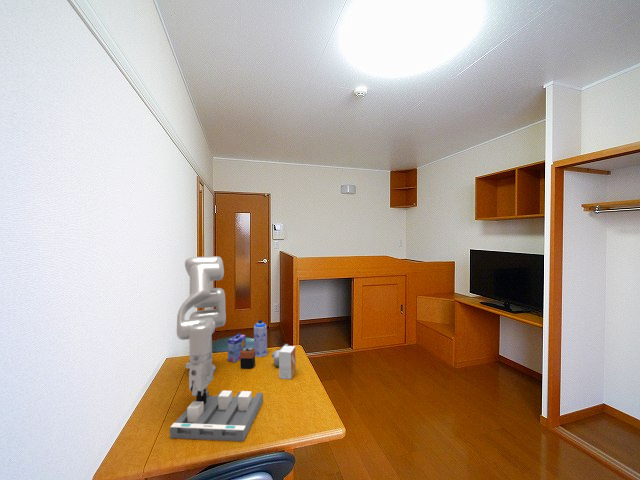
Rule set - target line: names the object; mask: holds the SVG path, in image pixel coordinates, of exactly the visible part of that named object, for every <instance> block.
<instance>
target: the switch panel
mask: <svg viewBox="0 0 640 480" xmlns="http://www.w3.org/2000/svg"><path fill="white" fill-rule="evenodd" d="M221 392H222V391H219V392H218V394H217V395H210V391H209V390H207V392H205V393H206V403H205V405H204V413H203V414H202V415H201V416H200V418H199V419H198V420H197V421H196V423H189V422H188V420H187V409H185V411H184V412H183V413H182V414H181V415H180V416H179V417H178V418H177V419H176V421H175V422H173V423H172V425H170V426H169V427H170V428H169V438H170V439H187V440H188V439H189V440H206V441H207V440H210V441H227V440H228V441H232V442H245V439H246V437H247V435H248V433H249V431H250V429H251V427H252V425H253V422H254V420H255V418H257V417H256V416H257V415H258V412H259V410H260V408H261V407H262V404H263V402H264V393H263V392H256V394H255V395H254V396H253V397H252V403H251V405H250V406H249V408H248V410H247V411H238V396H239V395H240V393H241V392H242V391H240V392H239V391H238V392H237V394H236V395H235V396H232V403H231V404H230V406H229V407H228V409H227V410H218V396H219V395H220V393H221ZM194 401H196V399H194Z"/></svg>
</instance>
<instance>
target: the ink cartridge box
mask: <svg viewBox="0 0 640 480" xmlns="http://www.w3.org/2000/svg"><path fill="white" fill-rule="evenodd" d="M246 338H247V337H246V334H241V332H238V333H237V334H236V335H233V336H232V337H230V338H228V339H227V361H228V362H231V363H237V362H238V361H239V360H240V352H241V351H242V349H243V348H246V347H247V346H246V343H247V342H246ZM246 349H247V348H246Z"/></svg>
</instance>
